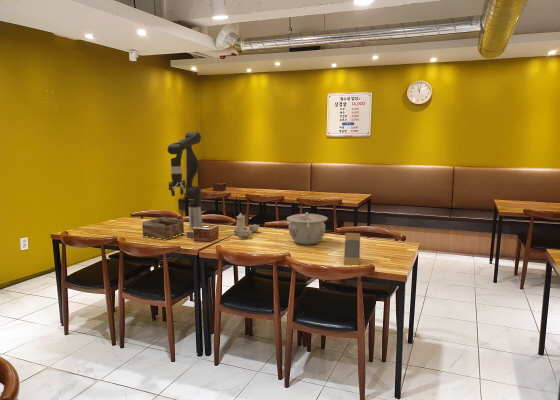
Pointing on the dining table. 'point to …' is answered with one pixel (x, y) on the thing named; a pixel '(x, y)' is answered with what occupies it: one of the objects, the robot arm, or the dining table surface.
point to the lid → (190, 235)
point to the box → (163, 227)
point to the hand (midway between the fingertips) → (177, 195)
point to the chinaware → (244, 227)
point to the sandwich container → (352, 249)
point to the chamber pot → (307, 228)
